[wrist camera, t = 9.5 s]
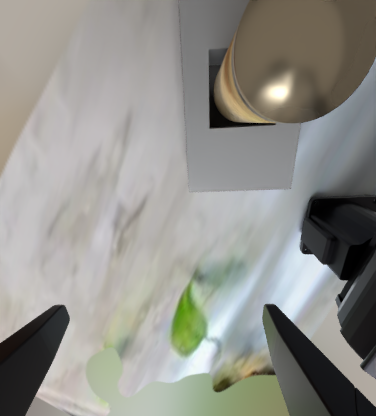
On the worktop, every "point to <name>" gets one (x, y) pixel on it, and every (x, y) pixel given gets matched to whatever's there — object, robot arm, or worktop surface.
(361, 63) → the brass plug
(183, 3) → the block
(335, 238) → the robot arm
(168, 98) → the worktop surface
